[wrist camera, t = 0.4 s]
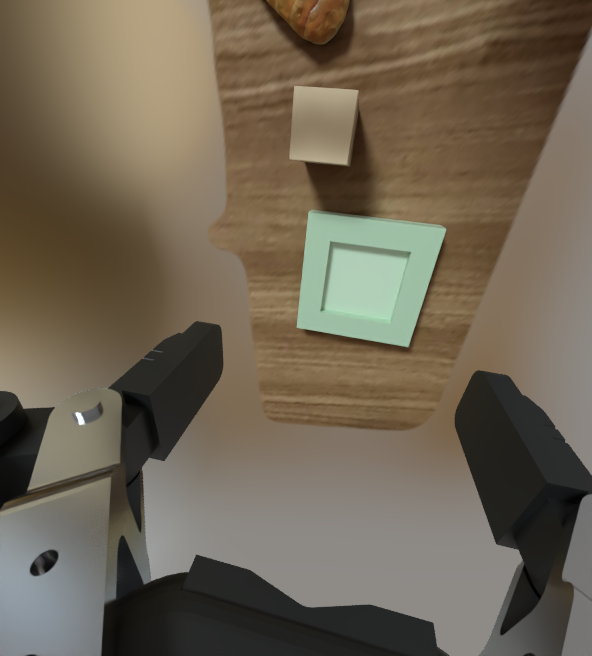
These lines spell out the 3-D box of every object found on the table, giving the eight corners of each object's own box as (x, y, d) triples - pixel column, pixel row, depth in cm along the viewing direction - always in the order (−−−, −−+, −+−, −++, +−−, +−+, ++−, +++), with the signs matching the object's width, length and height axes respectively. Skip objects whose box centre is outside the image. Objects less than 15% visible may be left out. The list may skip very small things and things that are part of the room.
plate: (311, 209, 31) (308, 212, 29) (440, 225, 29) (446, 228, 27) (300, 319, 37) (296, 327, 35) (405, 337, 35) (408, 347, 33)
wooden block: (309, 105, 27) (294, 85, 21) (359, 109, 26) (358, 90, 20) (304, 162, 29) (289, 159, 23) (350, 166, 28) (347, 164, 22)
